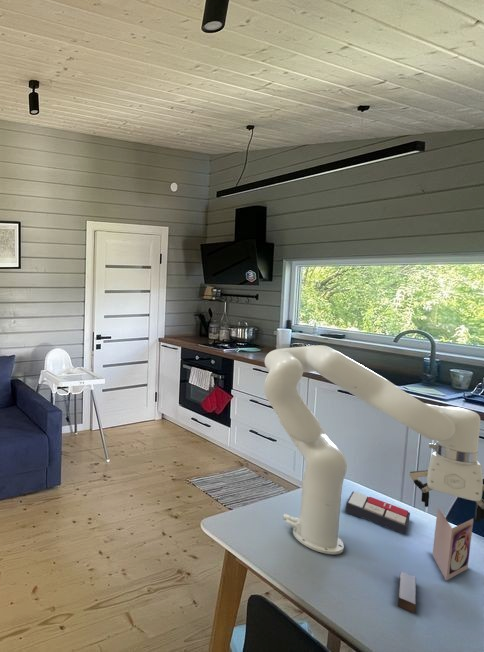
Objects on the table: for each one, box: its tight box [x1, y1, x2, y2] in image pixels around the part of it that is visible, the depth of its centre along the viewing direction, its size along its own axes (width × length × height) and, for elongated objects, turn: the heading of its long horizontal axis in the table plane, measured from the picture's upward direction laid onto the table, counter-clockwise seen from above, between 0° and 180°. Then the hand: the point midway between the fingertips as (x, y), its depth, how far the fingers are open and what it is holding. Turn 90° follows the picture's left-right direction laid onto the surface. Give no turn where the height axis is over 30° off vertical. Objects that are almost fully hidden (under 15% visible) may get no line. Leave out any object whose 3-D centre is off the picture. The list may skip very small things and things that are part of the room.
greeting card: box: [431, 507, 474, 581], centre depth 111 cm, size 11×7×15 cm, turn 112°
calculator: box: [344, 491, 411, 535], centre depth 134 cm, size 11×4×15 cm
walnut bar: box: [397, 571, 417, 614], centre depth 102 cm, size 3×12×2 cm, turn 135°
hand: (451, 512), depth 110 cm, fingers open, 9 cm apart
